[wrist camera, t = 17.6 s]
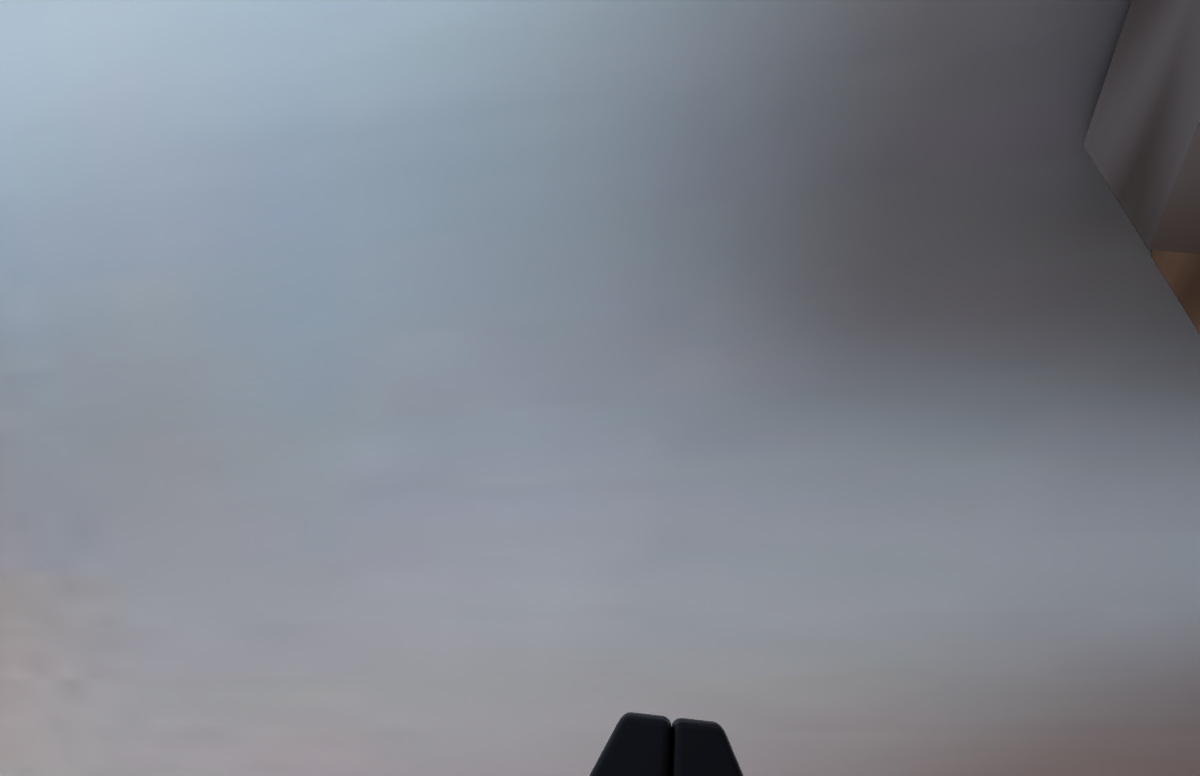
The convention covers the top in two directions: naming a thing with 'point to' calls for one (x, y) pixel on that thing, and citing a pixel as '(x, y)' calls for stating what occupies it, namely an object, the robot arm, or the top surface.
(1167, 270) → the open wooden box
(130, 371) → the top surface
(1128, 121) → the shelf board
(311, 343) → the top surface
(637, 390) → the top surface
